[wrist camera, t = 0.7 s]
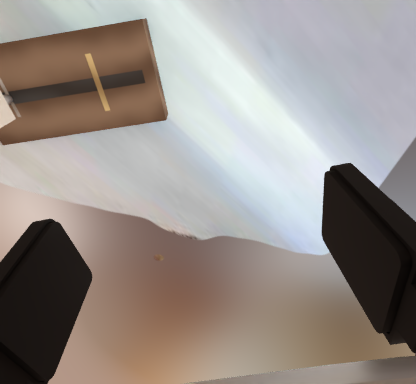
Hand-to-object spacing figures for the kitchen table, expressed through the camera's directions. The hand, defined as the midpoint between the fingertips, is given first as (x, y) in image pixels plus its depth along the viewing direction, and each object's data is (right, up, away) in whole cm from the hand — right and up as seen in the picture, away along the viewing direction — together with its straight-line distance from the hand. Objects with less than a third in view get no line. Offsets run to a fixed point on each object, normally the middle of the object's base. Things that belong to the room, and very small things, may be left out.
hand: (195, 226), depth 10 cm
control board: (-18, +16, +28) cm, 37 cm away
